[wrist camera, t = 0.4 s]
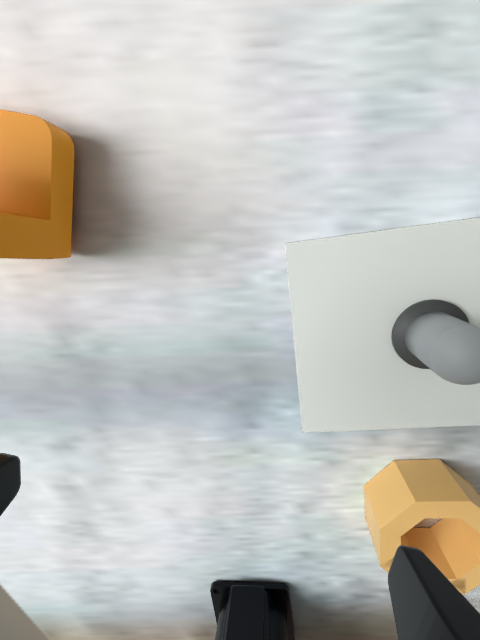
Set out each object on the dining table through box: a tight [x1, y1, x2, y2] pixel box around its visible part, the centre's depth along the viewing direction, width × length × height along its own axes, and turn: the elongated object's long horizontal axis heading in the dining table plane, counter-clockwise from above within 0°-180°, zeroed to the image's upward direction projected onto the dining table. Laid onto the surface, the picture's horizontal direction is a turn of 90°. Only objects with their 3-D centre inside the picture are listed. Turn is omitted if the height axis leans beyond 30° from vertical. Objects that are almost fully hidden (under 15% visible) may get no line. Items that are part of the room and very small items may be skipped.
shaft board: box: [285, 217, 480, 433], centre depth 16 cm, size 12×15×6 cm
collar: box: [364, 459, 480, 594], centre depth 20 cm, size 7×7×4 cm
